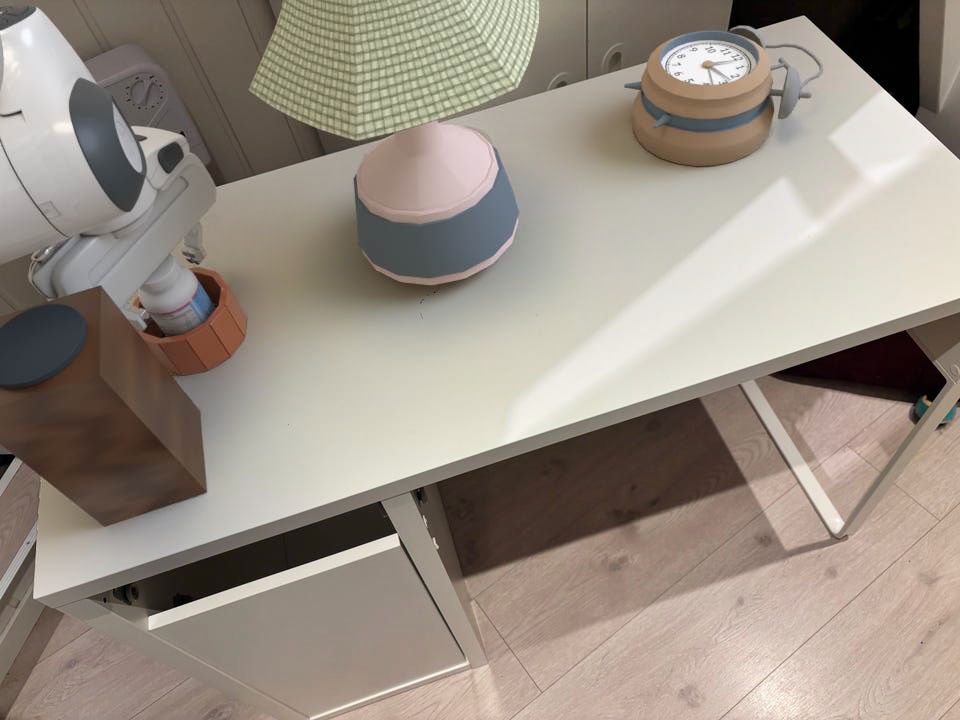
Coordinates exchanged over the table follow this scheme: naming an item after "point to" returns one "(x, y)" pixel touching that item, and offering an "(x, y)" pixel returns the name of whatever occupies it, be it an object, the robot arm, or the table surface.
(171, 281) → the pill bottle
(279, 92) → the desk lamp
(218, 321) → the desk pot
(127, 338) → the riser
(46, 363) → the coaster
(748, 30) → the alarm clock
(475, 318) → the table surface
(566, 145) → the table surface
